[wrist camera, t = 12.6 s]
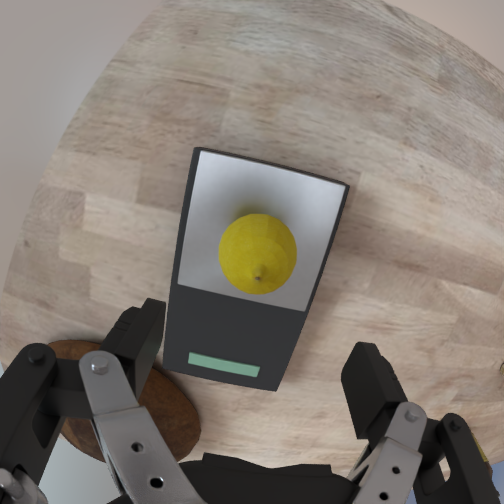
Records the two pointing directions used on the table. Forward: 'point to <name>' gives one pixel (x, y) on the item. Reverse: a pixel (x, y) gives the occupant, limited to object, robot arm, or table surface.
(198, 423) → the bread
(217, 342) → the scale
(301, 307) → the scale pan
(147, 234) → the table surface
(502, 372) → the spice jar
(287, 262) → the fruit
